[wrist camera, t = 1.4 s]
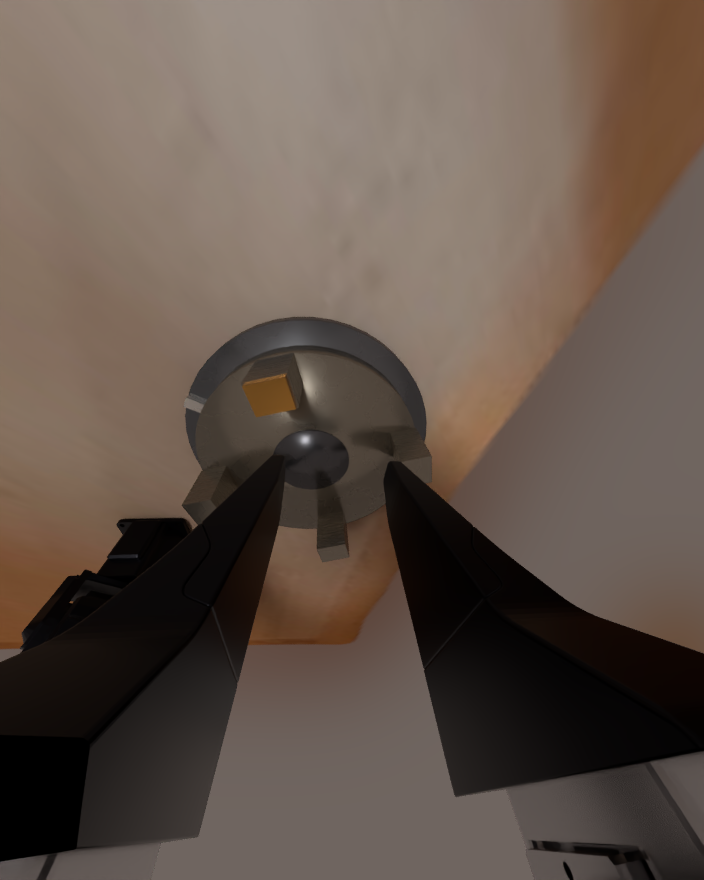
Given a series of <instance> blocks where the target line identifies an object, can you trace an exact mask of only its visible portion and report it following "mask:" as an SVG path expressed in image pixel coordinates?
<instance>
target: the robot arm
mask: <svg viewBox="0 0 704 880" xmlns="http://www.w3.org/2000/svg"><path fill="white" fill-rule="evenodd" d="M284 484H285V456H284V455H272V456H270V457H269V458H268V459H267V460H266V461H265V462H264V463H263V464H262V465H261V466H260V467H259V468H258V469H257V470H256V471H255V472H254V473H253V474H252V475H250V476H249V477H248V478H247V479H246V480H245V481H244V482H243V483H242V484H241V485H240V486H239V487H238V488H237V489H236V490H235V491H234V492H233V493H232V494H231V495H229V496H228V497H227V498H226V499H225V500H224V501H223V502H222V503H221V504H220V505H219V506H218V507H217V508H216V509H215V510H214V511H213V512H212V513H211V514H209V515H208V516H207V517H206V518H205V519H204V520H203V521H202V524H199V525H198V526H197V527H196V528H195V529H194V530H192V531H191V532H190V531H189V529H188V527H187V524H186V522H185V520H183V519H181V518H168V519H121V520H119V522H118V523H117V527H118V528H119V530H120V531H121V533H122V534H123V535H122V537H121V538H120V540H119V541H118V542H117V544H116V545H115V546H114V548H113V549H112V551H111V552H110V553H109V555H108V556H107V558H108V559H107V560H106V562H105V563H104V564H103V566H102V567H101V569H100V570H99V571H98V573H97V574H95V573H92V571H89V570H86V569H85V570H84V571H83V573H82V574H81V575H77V576H68V577H67V578H66V579H65V581H64V582H63V583H62V584H61V586H60V587H59V588H58V589H57V590H56V592H55V593H54V594H53V595H52V597H51V598H50V599H49V600H48V601H47V603H46V604H45V605H44V606H43V607H42V609H41V610H40V611H39V612H38V613H37V615H36V616H35V617H34V618H33V620H32V621H31V622H30V623H29V624H28V626H27V627H26V628H25V629H24V631H23V632H22V637H23V642H24V644H23V645H22V646H21V648H20V649H23V651H22V652H21V653H20V654H18V655H16V656H13V657H11V658H9V659H7V660H4V661H2V662H0V880H151V878H152V873H153V870H154V867H155V863H156V860H157V856H158V852H159V849H160V845H161V843H163V842H170V841H176V840H182V839H188V838H195V837H198V835H199V832H200V828H201V824H202V820H203V816H204V813H205V809H206V805H207V801H208V797H209V793H210V790H211V786H212V782H213V777H214V774H215V770H216V766H217V762H218V759H219V755H220V751H221V747H222V743H223V739H224V735H225V731H226V727H227V724H228V720H229V716H230V712H231V708H232V704H233V700H234V697H235V693H236V689H237V682H238V681H239V677H240V673H241V669H242V665H243V661H244V658H245V654H246V650H247V646H248V642H249V638H250V634H251V630H252V627H253V623H254V619H255V615H256V611H257V607H258V603H259V599H260V596H261V592H262V588H263V584H264V580H265V576H266V572H267V568H268V564H269V561H270V557H271V553H272V549H273V545H274V541H275V537H276V533H277V530H278V526H279V521H280V515H281V508H282V500H283V492H284ZM383 484H384V493H385V501H386V509H387V517H388V524H389V528H390V532H391V536H392V541H393V545H394V549H395V553H396V557H397V561H398V565H399V569H400V573H401V578H402V582H403V586H404V590H405V594H406V598H407V602H408V606H409V610H410V615H411V619H412V622H413V627H414V631H415V635H416V639H417V643H418V647H419V652H420V655H421V660H422V664H423V668H424V669H425V670H424V673H425V677H426V681H427V685H428V689H429V693H430V697H431V702H432V706H433V709H434V714H435V718H436V722H437V726H438V730H439V734H440V739H441V743H442V747H443V751H444V755H445V759H446V763H447V767H448V771H449V775H450V780H451V783H452V787H453V791H454V795H455V796H456V797H459V796H466V795H472V794H478V793H485V792H491V791H497V790H504V789H506V790H507V793H508V796H509V799H510V802H511V805H512V808H513V811H514V814H515V817H516V820H517V823H518V825H519V829H520V832H521V834H522V837H523V840H524V843H525V846H526V856H527V859H528V862H529V865H530V868H531V871H532V874H533V877H534V880H704V654H703V653H701V652H698V651H695V650H692V649H689V648H687V647H684V646H681V645H678V644H675V643H672V642H669V641H666V640H663V639H661V638H658V637H655V636H652V635H649V634H646V633H643V632H640V631H638V630H635V629H632V628H629V627H626V626H623V625H620V624H617V623H614V622H611V621H609V620H606V619H603V618H600V617H597V616H595V615H593V614H590V613H588V612H586V611H584V610H582V609H580V608H579V607H577V606H575V605H573V604H572V603H570V602H569V601H567V600H566V599H564V598H563V597H562V596H560V595H559V594H558V593H556V592H555V591H554V590H552V589H551V588H550V587H549V586H547V585H546V584H545V583H543V582H542V581H541V580H539V579H538V578H537V577H536V576H534V575H533V574H532V573H530V572H529V571H528V570H526V569H525V568H524V567H523V566H521V565H520V564H519V563H517V562H516V561H515V560H514V559H512V558H511V557H510V556H508V555H507V554H506V553H505V552H503V551H502V550H501V549H500V548H498V547H497V546H496V545H495V544H494V543H493V542H491V541H490V540H489V539H488V538H487V537H486V536H484V535H483V534H482V533H481V532H480V531H479V530H477V529H476V528H475V527H473V525H472V524H471V523H470V522H468V521H467V520H466V519H465V518H464V517H463V516H462V515H461V514H459V513H458V512H457V511H456V510H455V509H454V508H453V507H451V506H450V505H449V504H448V503H447V502H446V501H445V500H444V499H442V498H441V497H440V496H439V495H438V494H437V493H436V492H435V491H433V490H432V489H431V488H430V487H429V486H428V485H427V484H425V483H424V482H423V481H422V480H421V479H420V478H419V477H418V476H416V475H415V474H414V473H413V472H412V471H411V470H410V469H408V468H407V467H406V466H405V465H404V464H403V463H402V462H400V461H389V462H388V464H387V468H386V472H385V475H384V480H383ZM70 601H74V602H73V604H72V603H69V602H70Z"/></svg>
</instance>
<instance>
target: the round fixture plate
mask: <svg viewBox="0 0 704 880" xmlns="http://www.w3.org/2000/svg"><path fill="white" fill-rule="evenodd" d="M195 441H196V451H197V456H198V460H199V463H200V465H201V468H202V470H203V471H201V473H200V475H199V476H198V478H197V480H196V481H195V483H194V485H193V487H192V488H191V490H190V492H189V494H188V495H187V497H186V499H185V500H184V502H183V504H182V506H183V508H184V509H185V510H186V511H187V512H188V514H189V515H190V516H191V517H192V518H193V519H194V521H195V522H196V523H197V524H198V525H199V524H202V521H203V520H204V519H205V518H206V517H207V516H208V515H209V514H211V513H212V512H213V511H214V510H215V509H216V508H217V507H218V506H219V505H220V504H221V503H222V502H223V501H224V500H225V499H226V498H227V497H228V496H229V495H231V494H232V493H233V492H234V491H235V490H236V489H237V488H238V487H239V486H240V485H241V484H242V483H243V482H244V481H245V480H246V479H247V478H248V477H249V476H250V475H252V474H253V473H254V472H255V471H256V470H257V469H258V468H259V467H260V466H261V465H262V464H263V463H264V462H265V461H266V460H267V459H268V458H269V457H270V456H272V455H284V456H285V484H284V492H283V500H282V508H281V515H280V521H279V526H285V527H291V528H303V529H314V528H317V551H318V553H319V555H320V558H321V560H322V562H327V561H332V560H337V559H343V558H348V557H349V546H348V535H347V524H346V523H349V522H352V521H355V520H358V519H360V518H362V517H365V516H367V515H369V514H370V513H372V512H374V511H376V510H377V509H379V508H380V507H382V506H383V505H384V504H386V501H385V493H384V484H383V480H384V475H385V472H386V468H387V464H388V462H389V461H400V462H402V463H403V464H404V465H405V466H406V467H407V468H408V469H410V470H411V471H412V472H413V473H414V474H415V475H416V476H418V477H419V478H420V479H421V480H422V481H423V482H424V483H430V482H432V456H431V454H430V452H429V450H428V449H427V447H426V445H425V443H424V441H423V440H422V438H421V436H420V434H419V432H418V430H417V429H416V428H415V427H414V423H413V420H412V417H411V415H410V413H409V411H408V409H407V407H406V405H405V403H404V401H403V400H402V398H401V396H400V394H399V393H398V391H397V390H396V389H395V387H394V386H393V384H392V383H391V382H390V381H389V380H388V379H387V378H386V377H385V376H384V375H383V374H382V373H381V372H380V371H378V370H377V369H376V368H375V367H373V366H372V365H371V364H369V363H367V362H365V361H364V360H362V359H360V358H359V357H356V356H354V355H351V354H349V353H347V352H344V351H340V350H337V349H333V348H329V347H322V346H314V345H295V346H288V347H281V348H277V349H273V350H270V351H266V352H263V353H261V354H259V355H256V356H254V357H252V358H250V359H248V360H247V361H245V362H243V363H242V364H240V365H239V366H237V367H236V368H235V369H234V370H233V371H232V372H230V373H229V374H228V375H227V376H226V377H225V378H224V380H223V381H222V382H221V383H220V384H219V385H218V387H217V388H216V389H215V390H214V392H213V393H212V394H211V395H210V397H209V398H208V399H207V401H206V403H205V405H204V407H203V408H202V410H201V413H200V416H199V419H198V422H197V427H196V435H195Z"/></svg>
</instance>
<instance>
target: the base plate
mask: <svg viewBox="0 0 704 880" xmlns="http://www.w3.org/2000/svg"><path fill="white" fill-rule="evenodd" d="M295 345H314V346H322V347H329V348H333V349H337V350H340V351H344V352H347V353H349V354H351V355H354V356H356V357H359V358H360V359H362V360H364V361H365V362H367V363H369V364H371V365H372V366H373V367H375V368H376V369H377V370H378V371H380V372H381V373H382V374H383V375H384V376H385V377H386V378H387V379H388V380H389V381H390V382H391V383H392V384H393V386H394V387H395V389H396V390H397V391H398V393H399V394H400V396H401V398H402V400H403V401H404V403H405V405H406V407H407V409H408V411H409V413H410V415H411V417H412V420H413V423H414V427H415V428H416V429H417V430H418V432H419V434H420V436H421V438H422V440H423V441H424V440H425V436H426V413H425V407H424V403H423V399H422V396H421V393H420V391H419V389H418V386H417V384H416V382H415V381H414V379H413V377H412V376H411V374H410V373H409V371H408V370H407V368H406V367H405V366H404V364H403V363H402V362H401V361H400V360H399V359H398V357H397V356H396V355H395V354H394V353H393V352H392V351H391V350H390V349H389V348H387V347H386V346H385V345H384V344H383V343H382V342H380V341H379V340H377V339H376V338H374V337H373V336H371V335H369V334H368V333H366V332H364V331H362V330H360V329H357V328H355V327H353V326H351V325H348V324H345V323H341V322H338V321H334V320H330V319H323V318H316V317H290V318H283V319H276V320H272V321H269V322H265V323H262V324H259V325H256V326H254V327H252V328H250V329H248V330H245V331H243V332H241V333H240V334H238V335H237V336H235V337H234V338H232V339H231V340H229V341H228V342H226V343H225V344H224V345H223V346H222V347H221V348H220V349H218V350H217V351H216V352H215V353H214V354H213V355H212V356H211V357H210V358H209V359H208V360H207V361H206V363H205V364H204V366H203V367H202V368H201V370H200V371H199V372H198V374H197V376H196V378H195V380H194V382H193V384H192V386H191V389H190V392H189V395H188V396H187V397H186V399H185V403H184V407H186V415H185V417H186V430H187V434H188V438H189V443H190V445H191V448H192V450H193V453H194V455H195V457H196V459H197V460H198V456H197V451H196V441H195V435H196V427H197V422H198V419H199V416H200V413H201V410H202V408H203V407H204V405H205V403H206V401H207V399H208V398H209V397H210V395H211V394H212V393H213V392H214V390H215V389H216V388H217V387H218V385H219V384H220V383H221V382H222V381H223V380H224V378H225V377H226V376H227V375H228V374H229V373H230V372H232V371H233V370H234V369H235V368H236V367H237V366H239V365H240V364H242V363H243V362H245V361H247V360H248V359H250V358H252V357H254V356H256V355H259V354H261V353H263V352H266V351H270V350H273V349H277V348H281V347H288V346H295ZM198 462H199V460H198ZM199 464H200V463H199ZM200 466H201V465H200Z"/></svg>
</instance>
